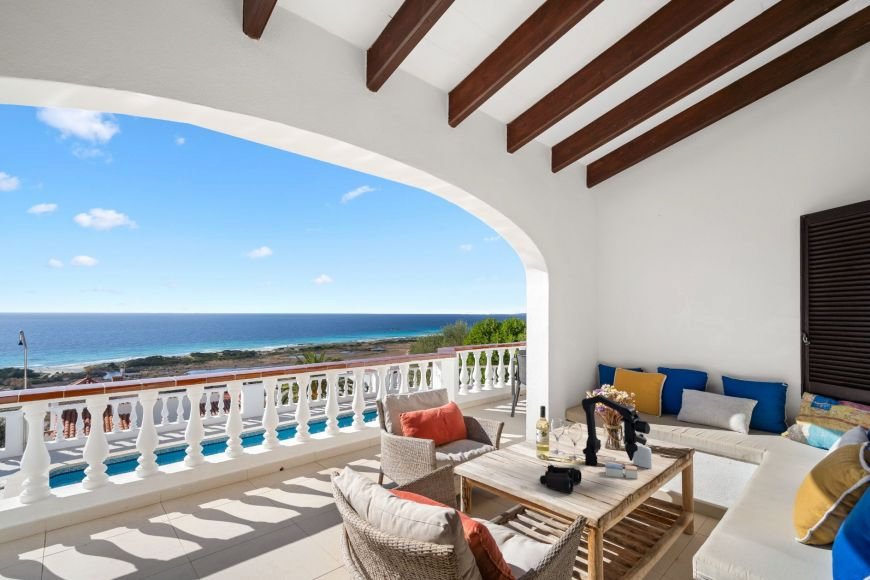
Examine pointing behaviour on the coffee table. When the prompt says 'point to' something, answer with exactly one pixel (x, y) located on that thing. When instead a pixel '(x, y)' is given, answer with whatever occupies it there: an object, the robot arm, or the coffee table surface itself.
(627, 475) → the stub
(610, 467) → the ticket book
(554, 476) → the binoculars
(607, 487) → the coffee table surface
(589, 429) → the robot arm
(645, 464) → the photo printer
